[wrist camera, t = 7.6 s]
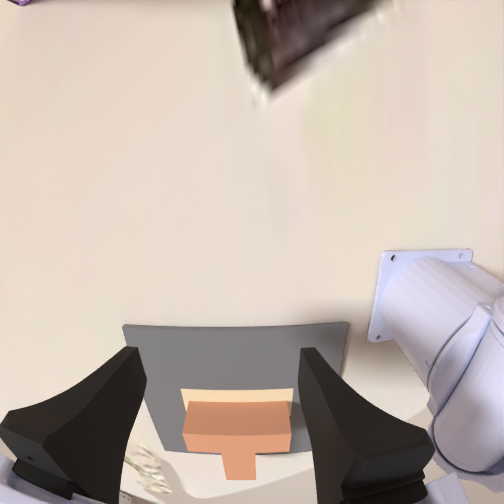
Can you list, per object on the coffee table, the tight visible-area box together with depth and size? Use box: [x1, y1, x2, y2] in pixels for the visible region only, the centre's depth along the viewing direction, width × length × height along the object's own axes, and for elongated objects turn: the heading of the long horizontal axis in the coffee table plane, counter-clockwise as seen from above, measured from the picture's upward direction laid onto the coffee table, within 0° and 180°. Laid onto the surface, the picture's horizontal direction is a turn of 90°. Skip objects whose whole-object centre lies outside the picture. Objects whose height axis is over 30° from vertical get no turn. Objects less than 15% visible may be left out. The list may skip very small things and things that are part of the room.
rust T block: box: [182, 401, 292, 480], centre depth 24 cm, size 9×9×4 cm
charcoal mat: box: [122, 322, 348, 455], centre depth 25 cm, size 18×18×1 cm
